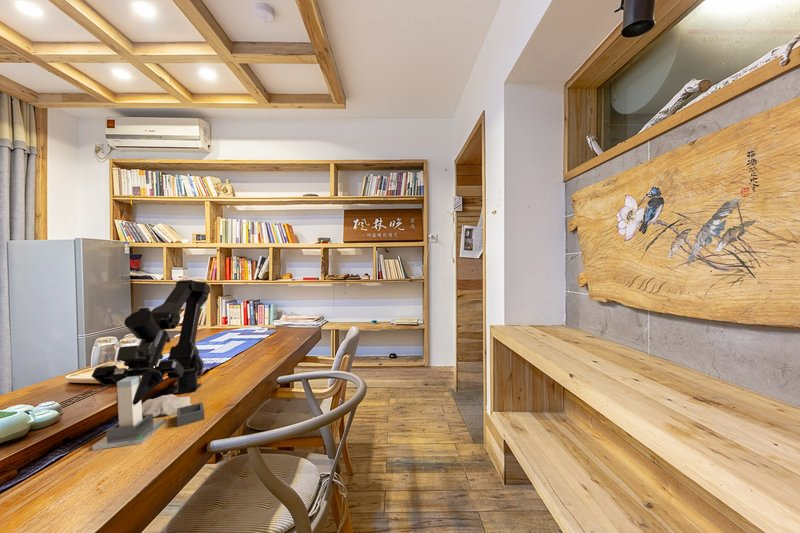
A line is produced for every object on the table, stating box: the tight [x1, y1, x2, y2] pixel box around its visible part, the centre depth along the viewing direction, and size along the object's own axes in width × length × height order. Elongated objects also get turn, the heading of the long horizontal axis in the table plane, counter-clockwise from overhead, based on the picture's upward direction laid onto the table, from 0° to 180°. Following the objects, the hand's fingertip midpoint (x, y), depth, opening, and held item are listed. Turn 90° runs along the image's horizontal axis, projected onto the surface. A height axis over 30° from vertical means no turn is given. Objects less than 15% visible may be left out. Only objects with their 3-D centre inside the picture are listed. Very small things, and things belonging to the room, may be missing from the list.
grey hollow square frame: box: [176, 402, 205, 427], centre depth 85 cm, size 7×6×2 cm
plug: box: [116, 376, 143, 427], centre depth 78 cm, size 4×3×12 cm
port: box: [92, 414, 166, 451], centre depth 78 cm, size 10×10×4 cm
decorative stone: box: [142, 393, 192, 418], centre depth 91 cm, size 11×4×15 cm
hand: (126, 404), depth 76 cm, fingers closed on plug, 3 cm apart
